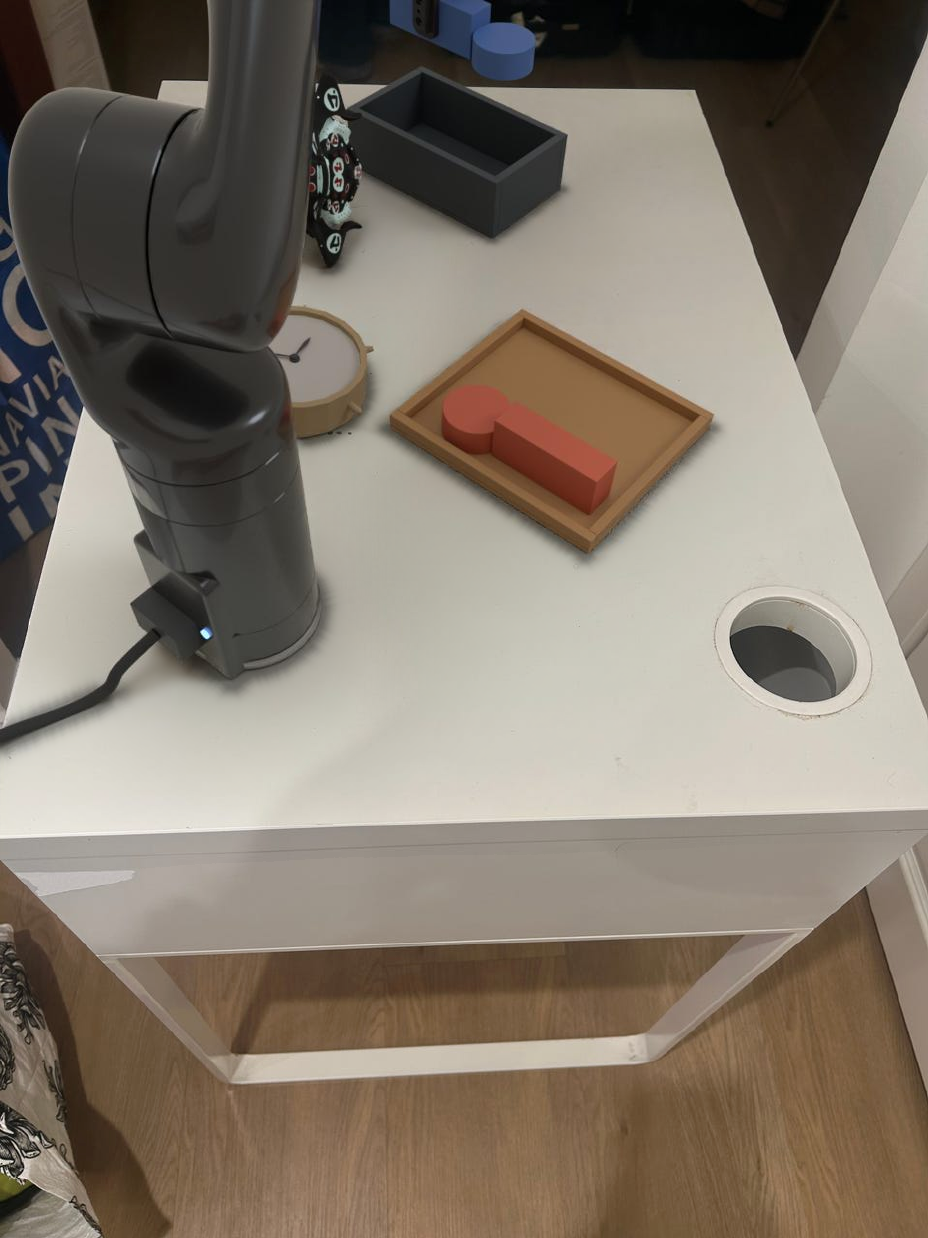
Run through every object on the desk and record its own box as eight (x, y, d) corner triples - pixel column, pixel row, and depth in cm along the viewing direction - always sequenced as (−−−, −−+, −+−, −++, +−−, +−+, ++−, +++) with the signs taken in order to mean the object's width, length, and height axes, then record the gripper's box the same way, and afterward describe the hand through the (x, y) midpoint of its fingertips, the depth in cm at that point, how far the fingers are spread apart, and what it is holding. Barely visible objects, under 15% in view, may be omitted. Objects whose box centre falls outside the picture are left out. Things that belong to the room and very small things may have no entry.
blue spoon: (418, 8, 87) (418, -37, 84) (545, 64, 82) (550, 18, 79) (379, 28, 85) (378, -17, 82) (507, 87, 80) (511, 41, 77)
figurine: (197, 260, 85) (322, 280, 79) (181, 62, 78) (318, 69, 72) (273, 247, 93) (392, 265, 88) (265, 67, 86) (395, 74, 80)
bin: (492, 238, 88) (496, 183, 84) (349, 163, 94) (346, 107, 90) (560, 188, 93) (568, 134, 89) (421, 120, 99) (421, 65, 94)
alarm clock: (362, 417, 71) (152, 374, 69) (354, 463, 75) (154, 423, 73) (379, 317, 77) (187, 274, 75) (370, 363, 81) (188, 324, 79)
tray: (587, 554, 68) (590, 541, 67) (389, 427, 74) (389, 414, 73) (709, 427, 76) (714, 413, 75) (520, 321, 82) (522, 308, 81)
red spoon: (578, 526, 69) (585, 492, 66) (427, 431, 74) (428, 396, 71) (619, 485, 72) (628, 450, 69) (470, 395, 76) (472, 359, 73)
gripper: (464, -263, 74) (456, -13, 88) (337, -219, 68) (351, 42, 82) (543, -238, 72) (521, 15, 86) (419, -190, 65) (418, 74, 80)
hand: (438, 27), depth 84 cm, fingers closed on blue spoon, 2 cm apart
